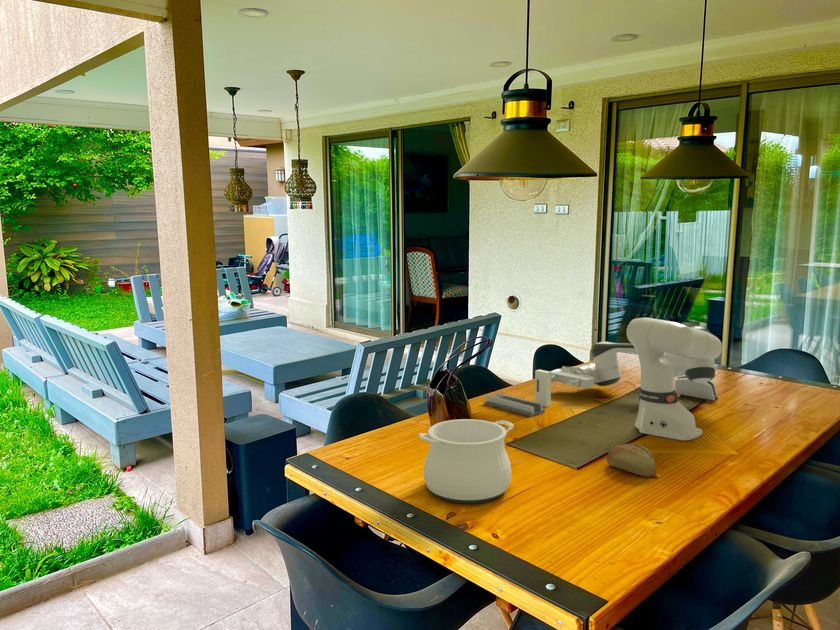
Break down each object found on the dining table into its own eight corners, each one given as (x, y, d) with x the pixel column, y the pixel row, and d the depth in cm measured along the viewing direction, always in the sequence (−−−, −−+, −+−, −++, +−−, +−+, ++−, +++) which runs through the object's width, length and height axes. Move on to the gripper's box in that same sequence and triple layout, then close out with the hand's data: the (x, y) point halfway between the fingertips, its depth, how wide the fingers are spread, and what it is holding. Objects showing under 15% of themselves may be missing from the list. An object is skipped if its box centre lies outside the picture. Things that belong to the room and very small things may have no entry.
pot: (440, 516, 164) (439, 450, 162) (404, 482, 187) (402, 423, 184) (534, 496, 175) (535, 434, 173) (489, 466, 198) (489, 410, 195)
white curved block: (719, 397, 268) (717, 377, 264) (714, 403, 265) (712, 383, 261) (679, 390, 280) (677, 370, 276) (674, 396, 277) (672, 376, 273)
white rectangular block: (550, 405, 260) (551, 371, 258) (546, 407, 258) (546, 373, 257) (538, 402, 265) (539, 369, 263) (534, 404, 263) (534, 370, 261)
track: (544, 412, 252) (544, 403, 251) (529, 417, 246) (529, 408, 245) (498, 400, 270) (498, 392, 269) (484, 404, 264) (484, 396, 263)
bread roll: (615, 460, 201) (616, 435, 200) (662, 472, 190) (663, 446, 189) (600, 469, 194) (600, 443, 193) (648, 482, 184) (649, 455, 182)
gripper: (600, 387, 270) (581, 394, 261) (560, 379, 285) (540, 385, 276) (601, 373, 269) (581, 378, 260) (560, 365, 284) (540, 370, 275)
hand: (560, 381), depth 268 cm, fingers open, 8 cm apart
